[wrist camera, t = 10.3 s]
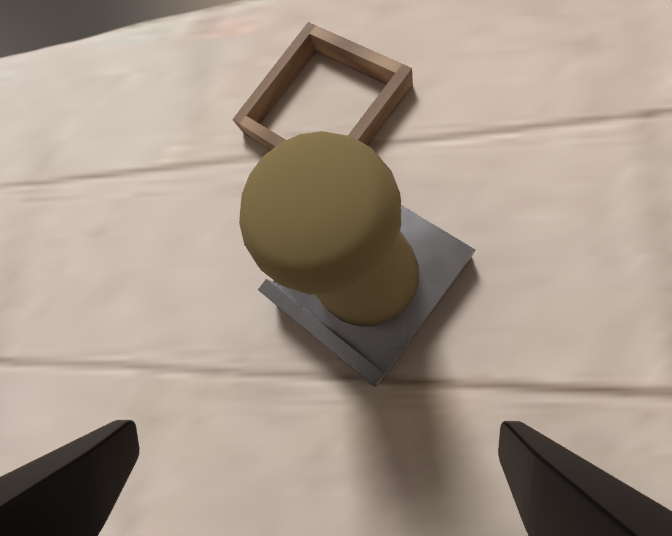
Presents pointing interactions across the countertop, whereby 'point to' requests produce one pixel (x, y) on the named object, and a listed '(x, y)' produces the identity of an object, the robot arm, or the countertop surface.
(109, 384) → the countertop surface
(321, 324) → the gray hardcover book
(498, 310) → the countertop surface
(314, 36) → the socket collar
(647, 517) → the robot arm
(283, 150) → the cork
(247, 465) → the countertop surface
